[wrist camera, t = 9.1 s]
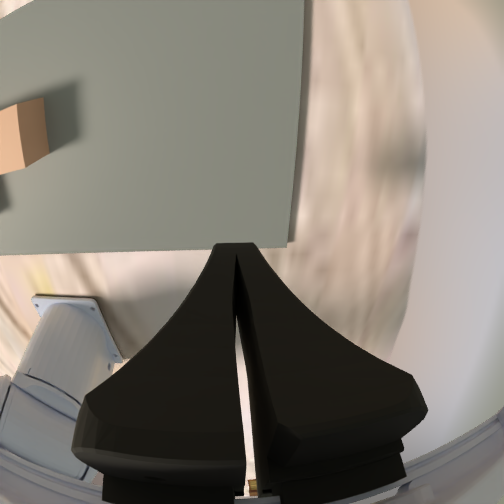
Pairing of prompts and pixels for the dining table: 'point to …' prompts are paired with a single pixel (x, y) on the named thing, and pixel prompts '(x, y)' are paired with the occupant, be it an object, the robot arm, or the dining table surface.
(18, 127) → the t block
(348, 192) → the dining table surface
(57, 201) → the board
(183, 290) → the dining table surface
